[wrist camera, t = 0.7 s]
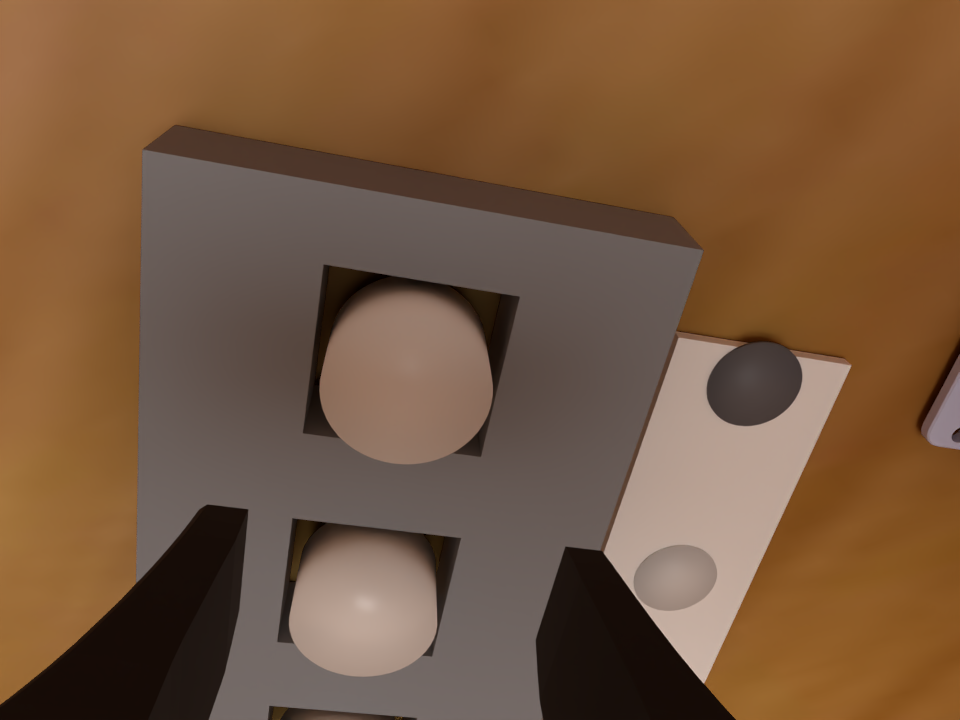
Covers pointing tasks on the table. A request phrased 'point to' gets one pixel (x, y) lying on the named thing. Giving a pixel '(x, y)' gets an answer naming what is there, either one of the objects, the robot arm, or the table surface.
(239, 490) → the button board
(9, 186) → the table surface
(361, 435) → the button
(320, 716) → the button
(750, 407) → the pattern card
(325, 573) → the button
